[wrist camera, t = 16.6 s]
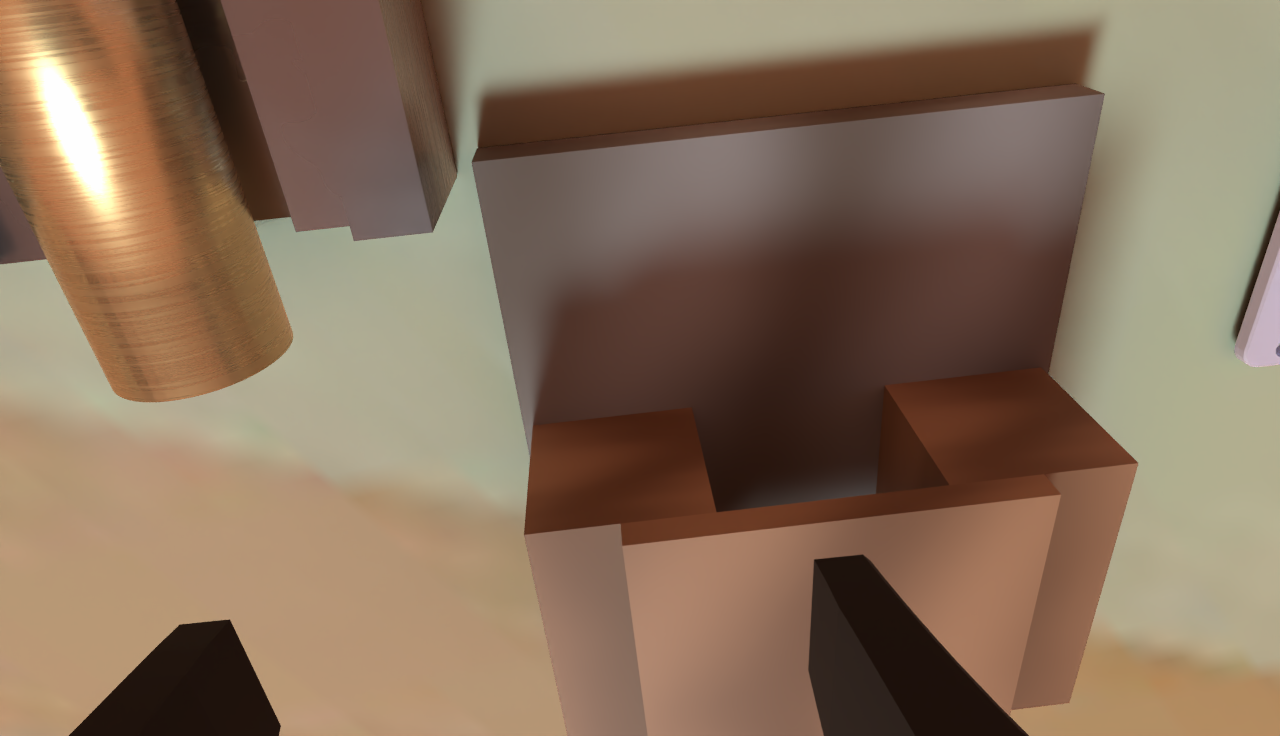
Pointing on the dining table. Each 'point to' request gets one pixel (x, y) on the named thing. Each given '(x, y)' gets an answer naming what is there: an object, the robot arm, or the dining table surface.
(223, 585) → the dining table surface
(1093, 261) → the dining table surface
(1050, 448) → the bridge block
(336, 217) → the v block
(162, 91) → the axle
